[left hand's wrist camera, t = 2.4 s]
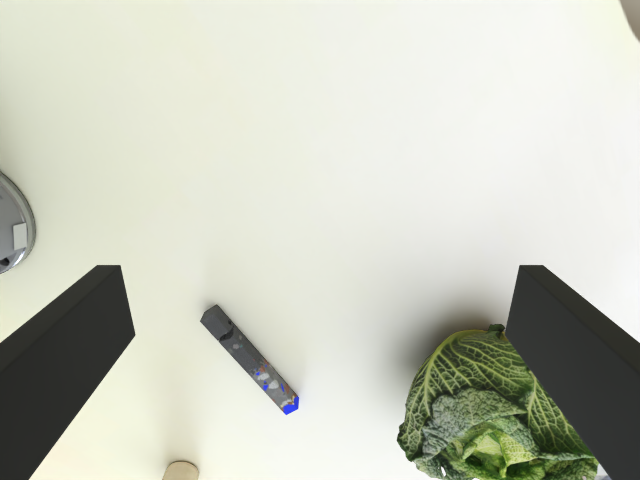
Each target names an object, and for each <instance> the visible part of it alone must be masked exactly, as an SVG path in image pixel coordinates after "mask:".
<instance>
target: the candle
mask: <svg viewBox="0 0 640 480" xmlns="http://www.w3.org/2000/svg"><path fill="white" fill-rule="evenodd" d="M198 477H199V472H198V470H197V469H196V467H195V466H193V465H192V464H190V463H187V462H175V463H172V464H171V465H169V466H168V468H167V469H166V472H165V474H164V476H163V479H162V480H198Z"/></svg>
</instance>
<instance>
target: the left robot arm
mask: <svg viewBox="0 0 640 480" xmlns="http://www.w3.org/2000/svg"><path fill="white" fill-rule="evenodd" d="M34 240H35V223H34V218H33V215H32V212H31V209H30V207H29V205H28V203H27V201H26V199H25V198H24V196H23V195H22V193H21V192H20V191H19V189H18V188H17V187H16V186H15V185H14V184H13V183H12V182H11V181H10V180H9V179H8V178H7V177H6V176H5V175H3V174H2V173H1V172H0V274H1V273H4V272H6V271H7V270H9V269H11V268H13V267H14V266H16V265H18V264H19V263H20V262H22V261H23V260H24V259H25V258H26V257H27V256H28V254H29V253H30V251H31V249H32V247H33V244H34ZM134 336H135V331H134V326H133V321H132V317H131V312H130V308H129V303H128V298H127V294H126V289H125V284H124V280H123V275H122V271H121V266H120V265H97V266H95V267H94V268H93V269H92V270H90V271H89V272H88V273H87V274H85V275H84V276H83V277H82V278H81V279H79V280H78V281H77V282H76V283H74V284H73V285H72V286H71V287H69V288H68V289H67V290H66V291H64V292H63V293H62V294H61V295H59V296H58V297H57V298H56V299H54V300H53V301H52V302H51V303H49V304H48V305H47V306H46V307H45V308H43V309H42V310H41V311H40V312H38V313H37V314H36V315H35V316H33V317H32V318H31V319H30V320H28V321H27V322H26V323H25V324H23V325H22V326H21V327H20V328H18V329H17V330H16V331H15V332H13V333H12V334H11V335H10V336H9V337H7V338H6V339H5V340H4V341H2V342H1V343H0V480H29V478H30V477H31V476H32V474H33V473H34V472H35V470H36V469H37V468H38V466H39V465H40V464H41V462H42V461H43V460H44V458H45V457H46V456H47V454H48V453H49V451H50V450H51V449H52V447H53V446H54V445H55V443H56V442H57V441H58V439H59V438H60V437H61V435H62V434H63V433H64V431H65V430H66V428H67V427H68V426H69V424H70V423H71V422H72V420H73V419H74V418H75V416H76V415H77V414H78V412H79V411H80V410H81V408H82V407H83V405H84V404H85V403H86V401H87V400H88V399H89V397H90V396H91V395H92V393H93V392H94V391H95V389H96V388H97V387H98V385H99V384H100V382H101V381H102V380H103V378H104V377H105V376H106V374H107V373H108V372H109V370H110V369H111V368H112V366H113V365H114V364H115V362H116V361H117V359H118V358H119V357H120V355H121V354H122V353H123V351H124V350H125V349H126V347H127V346H128V345H129V343H130V342H131V341H132V339H133V338H134ZM505 337H506V338H507V339H508V341H509V342H510V343H511V345H512V346H513V347H514V349H515V350H516V351H517V353H518V354H519V355H520V357H521V358H522V359H523V361H524V362H525V364H526V365H527V366H528V368H529V369H530V370H531V372H532V373H533V374H534V376H535V377H536V378H537V380H538V381H539V382H540V384H541V385H542V387H543V388H544V389H545V391H546V392H547V393H548V395H549V396H550V397H551V399H552V400H553V401H554V403H555V404H556V405H557V407H558V408H559V410H560V411H561V412H562V414H563V415H564V416H565V418H566V419H567V420H568V422H569V423H570V424H571V426H572V427H573V428H574V430H575V431H576V433H577V434H578V435H579V437H580V438H581V439H582V441H583V442H584V443H585V445H586V446H587V447H588V449H589V450H590V451H591V453H592V454H593V456H594V457H595V458H596V460H597V461H598V462H599V464H600V465H601V466H602V468H603V469H604V470H605V472H606V473H607V474H608V476H609V477H610V479H611V480H640V343H639V342H638V341H636V340H635V339H634V338H633V337H631V336H630V335H629V334H628V333H627V332H625V331H624V330H623V329H622V328H620V327H619V326H618V325H617V324H615V323H614V322H613V321H612V320H610V319H609V318H608V317H607V316H605V315H604V314H603V313H602V312H600V311H599V310H598V309H597V308H595V307H594V306H593V305H592V304H591V303H589V302H588V301H587V300H586V299H584V298H583V297H582V296H581V295H579V294H578V293H577V292H576V291H574V290H573V289H572V288H571V287H569V286H568V285H567V284H566V283H564V282H563V281H562V280H561V279H559V278H558V277H557V276H556V275H555V274H553V273H552V272H551V271H550V270H548V269H547V268H546V267H545V266H543V265H520V266H519V271H518V275H517V280H516V284H515V289H514V294H513V298H512V303H511V308H510V312H509V317H508V321H507V326H506V331H505Z"/></svg>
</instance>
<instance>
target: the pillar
mask: <svg viewBox="0 0 640 480" xmlns="http://www.w3.org/2000/svg"><path fill="white" fill-rule="evenodd" d="M200 322H201V323H202V324H203V325H204V326H205V327H206V328H207V329H208V331H209V332H210V333H211V334H212V335H213V336H214V337H215V338H216V339H217V340H219V343H220V344H221V345H222V346H223V347H224V348H225V349H226V350H227V351H228V352H229V353H230V355H231V356H232V357H233V358H234V359H235V360H236V361H237V362H238V363H239V364H240V365H241V366H242V368H243V369H244V370H245V371H246V372H247V373H248V374H249V375H250V376H251V377H252V378H253V380H254V381H255V382H256V383H257V384H258V385H259V386H260V387H261V388H262V389H263V390H264V392H265V393H266V394H267V395H268V396H269V397H270V398H271V399H272V400H273V401H274V402H275V404H276V405H277V406H278V407H279V408H280V409H281V410H282V411H283V412H284V413H285V414H286V415H287V414H289V413H291V412H293V411H295V410H297V409H298V404H299V397H298V396H297V395H296V394H295V393H294V392H293V390H292V389H291V388H290V387H289V386H288V385H287V384H286V383H285V381H284V380H283V379H282V378H281V377H280V376H279V375H278V373H277V372H276V371H275V370H274V369H273V368H272V367H271V366H270V364H269V363H268V362H267V361H266V360H265V359H264V358H263V356H262V355H261V354H260V353H259V352H258V351H257V350H256V349H255V347H254V346H253V345H252V344H251V343H250V342H249V341H248V339H247V338H246V337H245V336H244V335H243V334H242V333H241V332H240V330H239V329H238V328H237V327H236V326H235V325H234V324H233V322H232V321H231V320H230V319H229V318H228V317H227V316H226V315H225V313H224V312H223V311H222V310H221V309H220V308H219V307H218V305H216V306H214V307H212V308H211V309H209V310H207V311H206V312H204V314H203V316H202V318H201V320H200ZM226 333H227V334H226Z"/></svg>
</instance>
